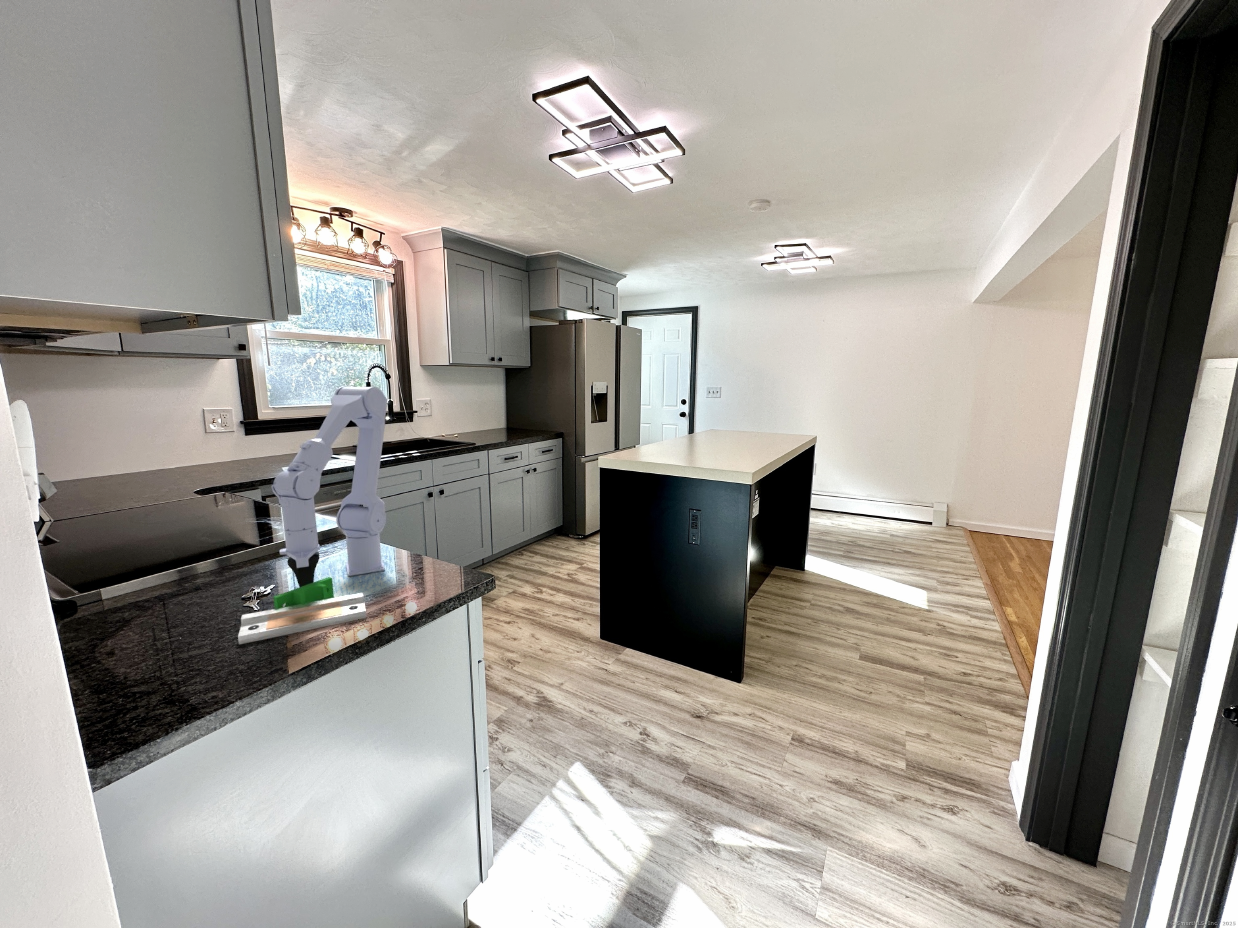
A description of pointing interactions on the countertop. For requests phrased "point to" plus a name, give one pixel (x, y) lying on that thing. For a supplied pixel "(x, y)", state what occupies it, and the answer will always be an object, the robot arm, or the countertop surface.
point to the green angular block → (306, 594)
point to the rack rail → (301, 617)
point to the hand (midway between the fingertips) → (306, 588)
